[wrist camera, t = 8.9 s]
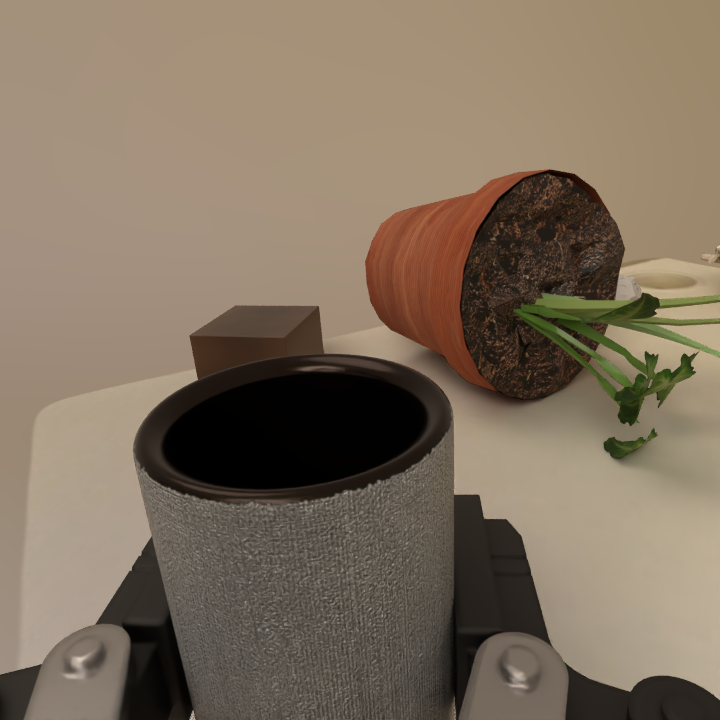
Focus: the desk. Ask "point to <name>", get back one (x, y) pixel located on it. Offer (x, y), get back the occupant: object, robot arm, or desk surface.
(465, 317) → the potted plant
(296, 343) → the block
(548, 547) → the desk surface
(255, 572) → the grey cylindrical cup
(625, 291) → the grey rock
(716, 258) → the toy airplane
